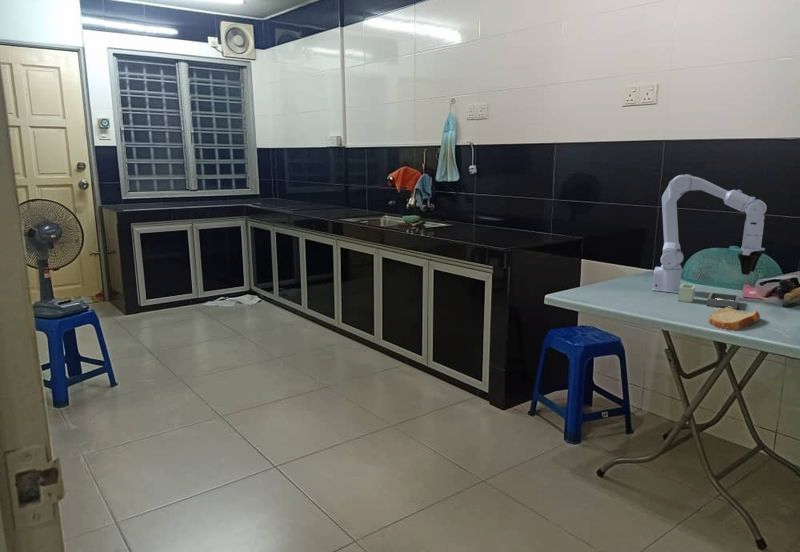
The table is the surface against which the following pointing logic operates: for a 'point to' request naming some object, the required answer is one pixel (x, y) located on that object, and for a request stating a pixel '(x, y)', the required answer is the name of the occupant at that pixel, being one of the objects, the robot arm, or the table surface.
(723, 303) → the grey rectangular tray
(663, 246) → the robot arm
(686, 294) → the small crate
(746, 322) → the bread slice
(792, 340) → the table surface
